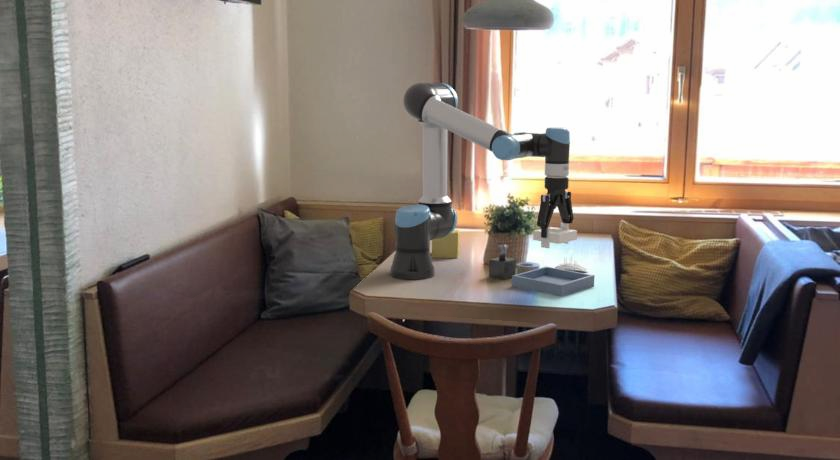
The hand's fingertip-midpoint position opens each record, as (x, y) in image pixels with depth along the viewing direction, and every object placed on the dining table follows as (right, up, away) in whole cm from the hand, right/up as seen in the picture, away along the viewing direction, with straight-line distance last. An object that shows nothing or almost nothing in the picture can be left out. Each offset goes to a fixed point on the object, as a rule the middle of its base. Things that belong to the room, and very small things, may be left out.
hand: (554, 245), depth 278 cm
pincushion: (+9, -10, +24) cm, 28 cm away
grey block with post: (-16, -11, +15) cm, 24 cm away
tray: (0, -13, +2) cm, 14 cm away
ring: (0, +2, 0) cm, 2 cm away
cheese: (-34, -5, +49) cm, 60 cm away
